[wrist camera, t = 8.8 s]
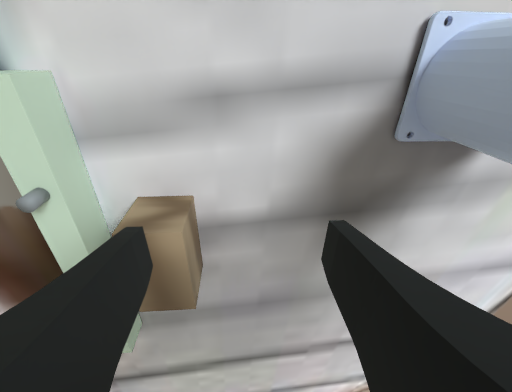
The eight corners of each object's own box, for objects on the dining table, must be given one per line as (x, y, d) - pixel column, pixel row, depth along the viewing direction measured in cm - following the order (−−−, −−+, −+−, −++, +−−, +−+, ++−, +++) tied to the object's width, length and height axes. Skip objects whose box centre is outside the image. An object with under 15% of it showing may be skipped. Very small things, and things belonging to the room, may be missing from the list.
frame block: (193, 194, 20) (182, 232, 16) (202, 264, 24) (195, 308, 20) (136, 196, 20) (109, 234, 16) (155, 266, 24) (137, 312, 20)
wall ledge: (50, 70, 15) (-16, 76, 11) (142, 323, 28) (126, 367, 24) (7, 70, 15) (-75, 75, 11) (119, 324, 28) (100, 369, 24)
